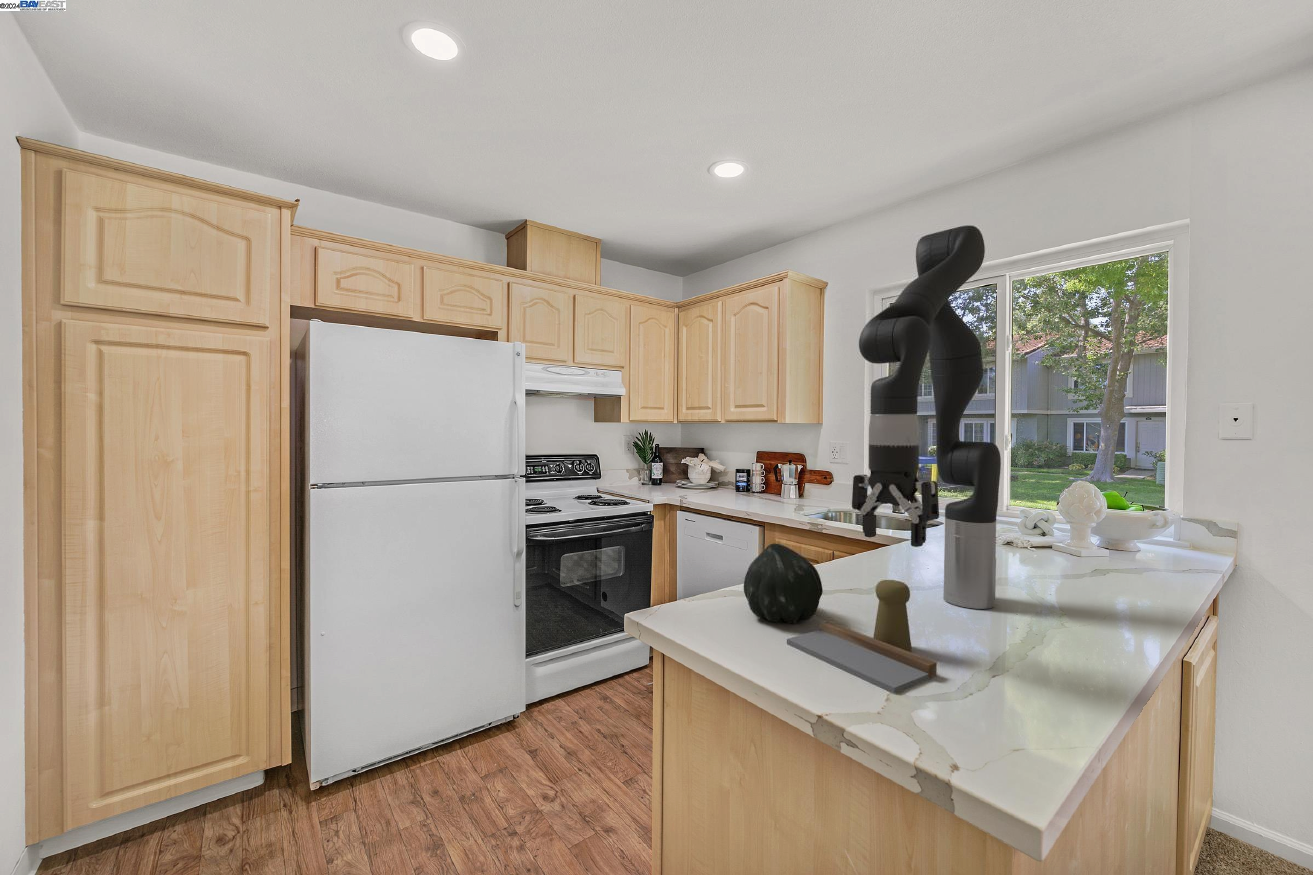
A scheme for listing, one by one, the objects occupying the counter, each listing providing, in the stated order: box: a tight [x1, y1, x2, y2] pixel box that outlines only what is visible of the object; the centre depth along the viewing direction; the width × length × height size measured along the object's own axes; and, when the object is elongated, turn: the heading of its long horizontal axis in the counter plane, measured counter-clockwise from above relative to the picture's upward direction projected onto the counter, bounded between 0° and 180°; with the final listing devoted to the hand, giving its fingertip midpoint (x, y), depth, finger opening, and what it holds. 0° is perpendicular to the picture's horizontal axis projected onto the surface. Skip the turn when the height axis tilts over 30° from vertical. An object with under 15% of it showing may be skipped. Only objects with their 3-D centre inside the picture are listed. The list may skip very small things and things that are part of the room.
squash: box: [743, 542, 824, 624], centre depth 105 cm, size 14×15×15 cm
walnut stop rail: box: [819, 620, 938, 680], centre depth 89 cm, size 2×20×2 cm, turn 32°
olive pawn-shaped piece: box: [872, 579, 913, 653], centre depth 91 cm, size 6×6×11 cm
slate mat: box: [786, 629, 929, 694], centre depth 86 cm, size 8×20×1 cm, turn 32°
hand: (892, 541), depth 90 cm, fingers open, 8 cm apart
